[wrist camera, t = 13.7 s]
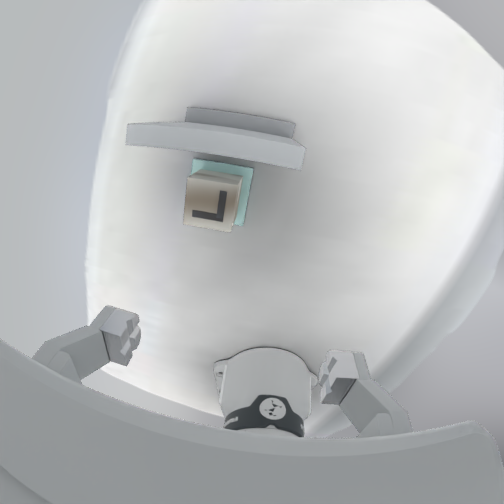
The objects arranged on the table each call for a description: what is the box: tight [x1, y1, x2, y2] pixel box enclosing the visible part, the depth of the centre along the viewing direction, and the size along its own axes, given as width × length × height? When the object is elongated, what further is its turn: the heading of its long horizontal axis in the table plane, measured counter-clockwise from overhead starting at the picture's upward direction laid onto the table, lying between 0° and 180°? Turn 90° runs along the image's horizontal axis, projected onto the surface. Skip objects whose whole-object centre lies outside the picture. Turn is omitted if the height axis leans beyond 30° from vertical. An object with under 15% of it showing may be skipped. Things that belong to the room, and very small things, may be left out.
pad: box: [191, 159, 254, 226], centre depth 32 cm, size 7×7×1 cm
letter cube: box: [183, 169, 243, 233], centre depth 29 cm, size 5×5×5 cm
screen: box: [126, 107, 306, 171], centre depth 23 cm, size 5×12×14 cm, turn 80°
